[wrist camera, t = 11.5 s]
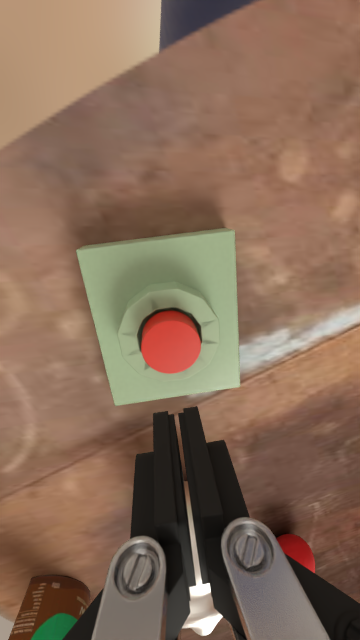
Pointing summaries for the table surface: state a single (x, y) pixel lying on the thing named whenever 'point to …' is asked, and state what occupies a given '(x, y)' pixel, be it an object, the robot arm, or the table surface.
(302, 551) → the toy figure
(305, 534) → the table surface
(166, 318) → the button
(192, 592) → the silver rounded figure
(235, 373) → the button block
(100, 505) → the table surface
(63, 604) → the food container
